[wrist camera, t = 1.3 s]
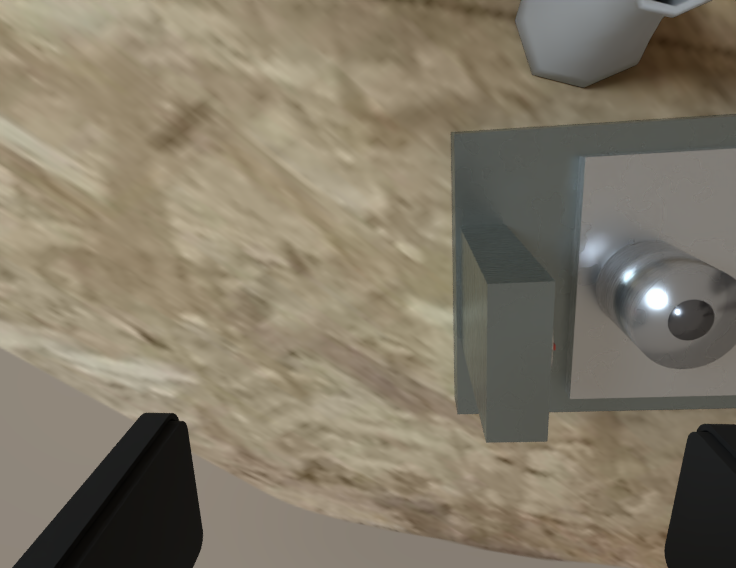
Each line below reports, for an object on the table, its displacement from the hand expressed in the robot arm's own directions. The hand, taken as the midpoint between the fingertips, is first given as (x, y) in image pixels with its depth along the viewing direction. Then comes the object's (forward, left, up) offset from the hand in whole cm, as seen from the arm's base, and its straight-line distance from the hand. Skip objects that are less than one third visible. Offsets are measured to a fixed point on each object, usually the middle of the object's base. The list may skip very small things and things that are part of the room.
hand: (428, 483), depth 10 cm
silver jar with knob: (+3, +13, -20) cm, 24 cm away
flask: (-11, +10, -23) cm, 27 cm away
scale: (+3, +15, -23) cm, 27 cm away
